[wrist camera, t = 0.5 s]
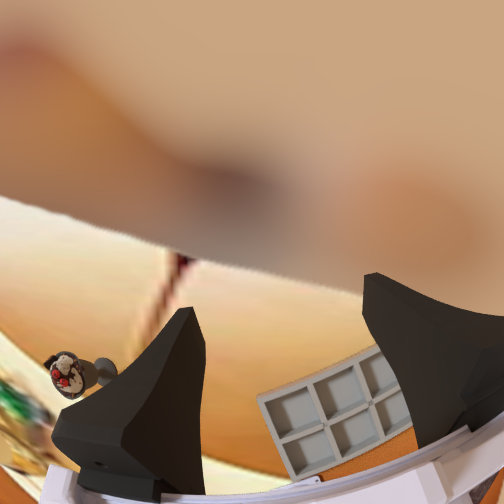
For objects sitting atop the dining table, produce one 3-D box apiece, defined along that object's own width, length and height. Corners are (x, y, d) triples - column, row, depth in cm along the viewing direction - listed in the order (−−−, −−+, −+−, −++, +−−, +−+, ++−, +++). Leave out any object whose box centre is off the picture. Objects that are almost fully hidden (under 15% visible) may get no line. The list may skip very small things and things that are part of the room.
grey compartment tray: (415, 413, 33) (424, 417, 30) (291, 473, 32) (292, 481, 29) (389, 336, 37) (397, 335, 35) (257, 395, 36) (256, 399, 33)
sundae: (127, 386, 37) (69, 398, 23) (97, 395, 37) (37, 406, 23) (113, 347, 39) (52, 343, 25) (84, 358, 39) (22, 356, 25)
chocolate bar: (478, 504, 22) (428, 504, 26) (476, 503, 23) (426, 502, 26) (500, 469, 24) (454, 464, 28) (497, 468, 25) (452, 463, 29)
